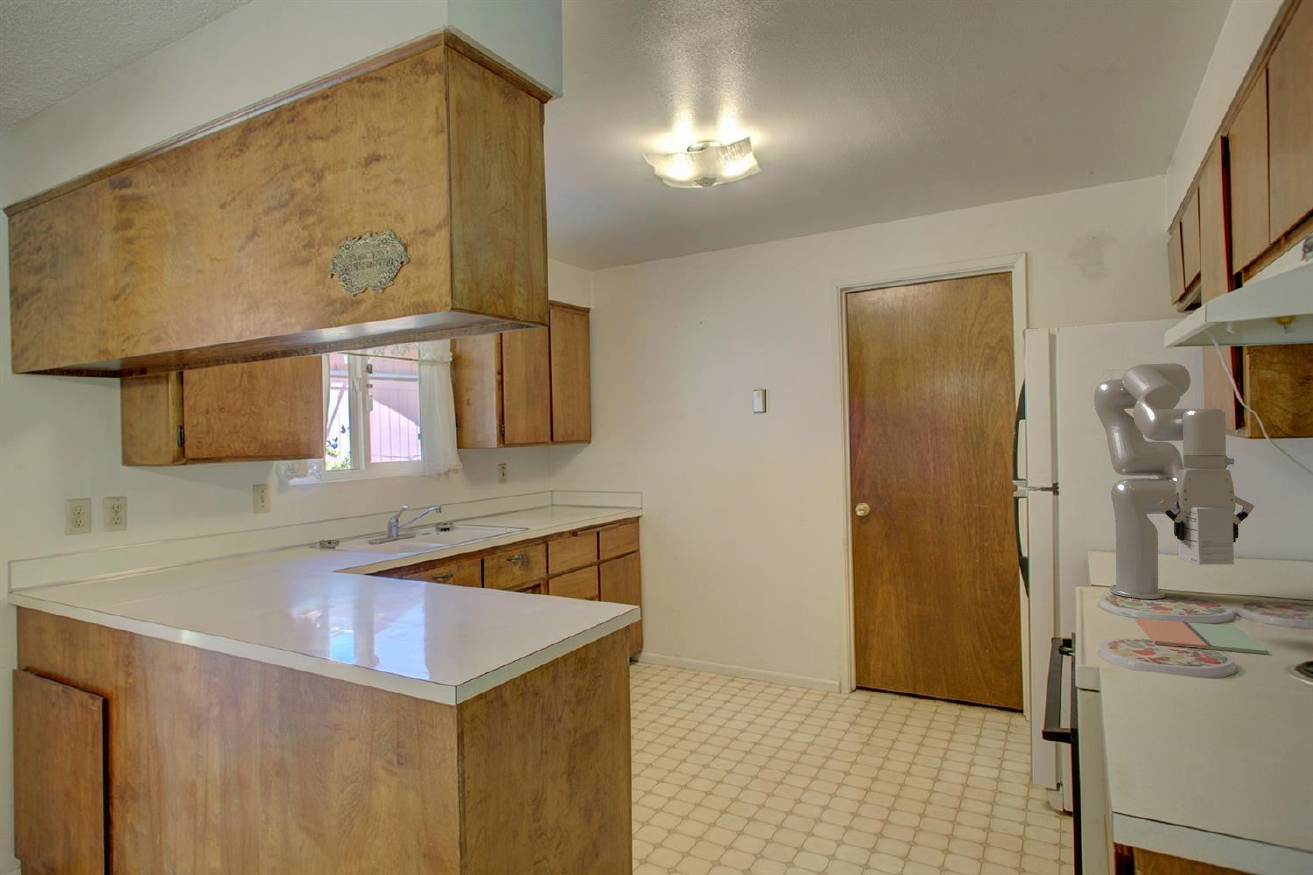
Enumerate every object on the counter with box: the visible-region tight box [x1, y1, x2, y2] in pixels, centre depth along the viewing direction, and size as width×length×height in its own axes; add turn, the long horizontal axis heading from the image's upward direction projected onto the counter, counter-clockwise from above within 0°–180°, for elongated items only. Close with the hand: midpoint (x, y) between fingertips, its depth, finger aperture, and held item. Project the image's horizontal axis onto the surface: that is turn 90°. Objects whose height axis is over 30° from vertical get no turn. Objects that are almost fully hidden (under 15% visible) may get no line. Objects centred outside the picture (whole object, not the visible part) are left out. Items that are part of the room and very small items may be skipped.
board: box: [1135, 617, 1268, 655], centre depth 154 cm, size 18×19×1 cm
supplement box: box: [1177, 505, 1235, 566], centre depth 156 cm, size 7×7×13 cm
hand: (1205, 540), depth 156 cm, fingers closed on supplement box, 8 cm apart
